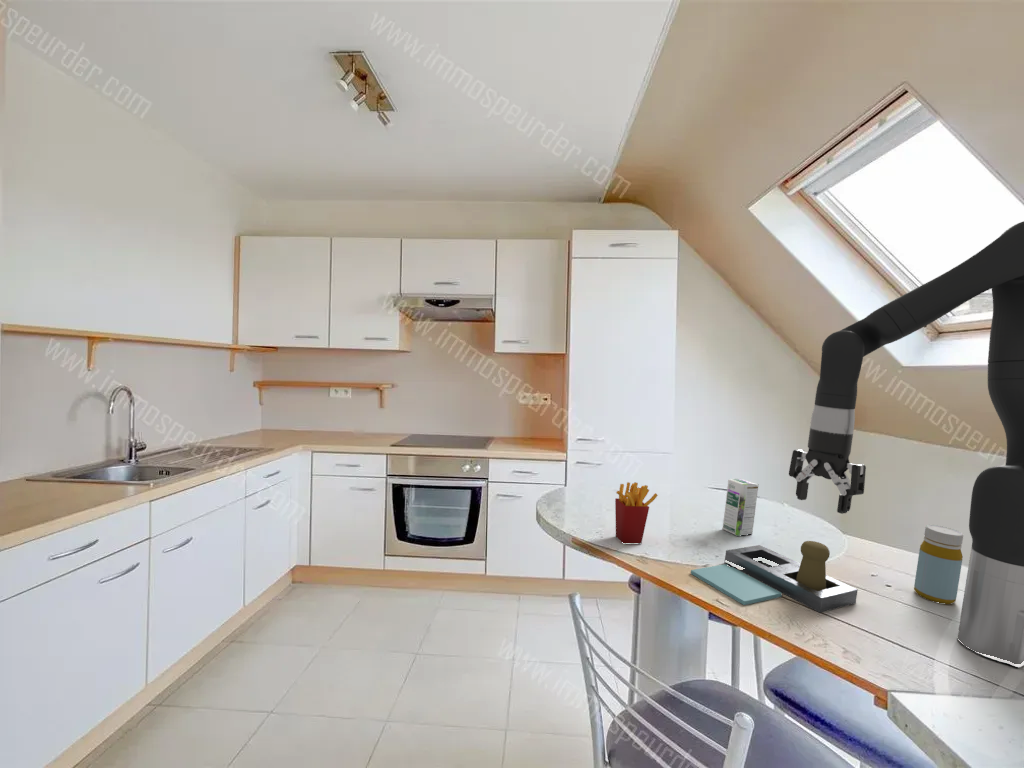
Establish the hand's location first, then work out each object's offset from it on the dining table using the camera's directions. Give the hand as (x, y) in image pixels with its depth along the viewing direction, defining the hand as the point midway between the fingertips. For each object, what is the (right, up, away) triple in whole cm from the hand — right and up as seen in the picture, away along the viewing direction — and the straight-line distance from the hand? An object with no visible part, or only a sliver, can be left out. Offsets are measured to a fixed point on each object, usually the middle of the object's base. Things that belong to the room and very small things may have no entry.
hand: (821, 505), depth 105 cm
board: (-17, -18, +3) cm, 24 cm away
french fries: (-34, -15, +25) cm, 44 cm away
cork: (-2, -19, +2) cm, 19 cm away
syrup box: (-1, -16, +36) cm, 39 cm away
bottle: (+27, -21, +4) cm, 35 cm away
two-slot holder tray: (-4, -18, +6) cm, 20 cm away
